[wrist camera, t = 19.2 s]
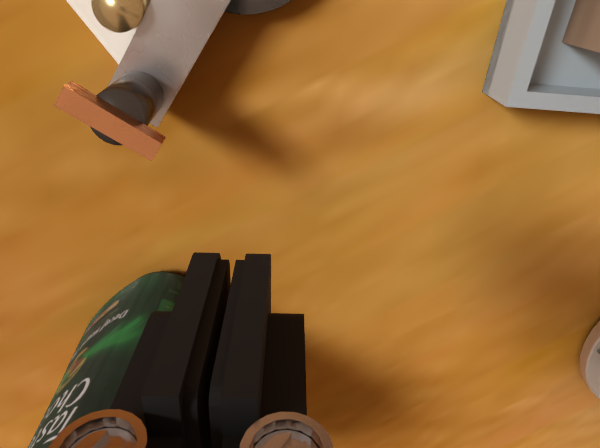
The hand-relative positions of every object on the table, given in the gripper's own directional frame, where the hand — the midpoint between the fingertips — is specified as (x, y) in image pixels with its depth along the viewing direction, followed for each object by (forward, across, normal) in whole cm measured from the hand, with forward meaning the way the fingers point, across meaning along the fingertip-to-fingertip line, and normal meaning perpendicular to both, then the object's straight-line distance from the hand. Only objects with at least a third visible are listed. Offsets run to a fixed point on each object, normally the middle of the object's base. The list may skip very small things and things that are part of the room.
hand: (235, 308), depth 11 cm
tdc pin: (+17, +7, -5) cm, 19 cm away
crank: (+15, +4, -5) cm, 17 cm away
